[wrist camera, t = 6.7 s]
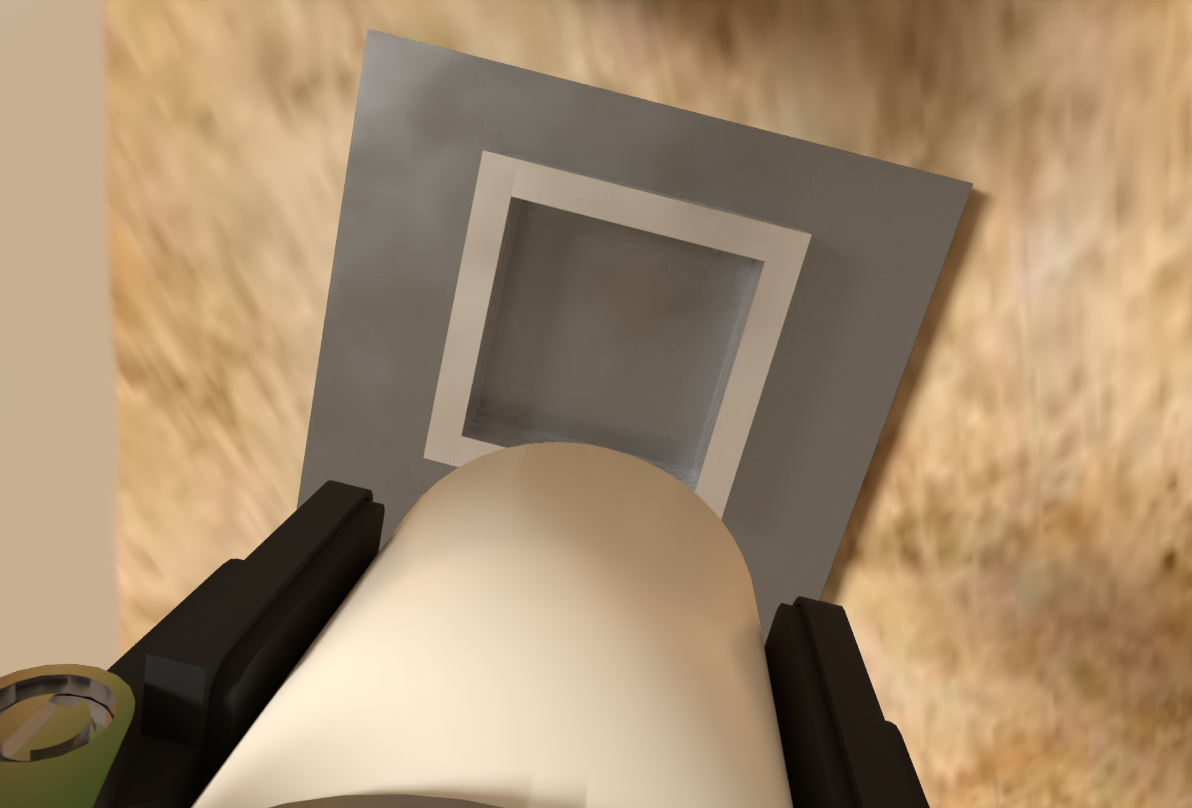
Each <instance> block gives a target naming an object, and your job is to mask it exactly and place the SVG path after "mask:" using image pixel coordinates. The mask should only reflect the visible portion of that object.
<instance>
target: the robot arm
mask: <svg viewBox="0 0 1192 808" xmlns="http://www.w3.org/2000/svg"><path fill="white" fill-rule="evenodd" d="M384 513H385V507H384V504H381V503H377V502H373V493H372V490H369V489H365V488H361V487H357V486H353V485H349V484H345V483H341V482H337V481H333V480H329V481H327V482H326V483H325V484H324V485H323V486H321V487H320V488H319V489H318V490H317V491H316V492H315V493H314V494H313V495H312V496H311V497H310V498H309V499H308V500H307V501H306V502H305V503H304V504H303V505H302V506H300V507H299V508H298V509H297V510H296V511H295V512H294V513H293V514H292V515H291V516H290V517H289V518H288V519H287V520H286V521H285V522H284V523H283V524H282V525H280V526H279V527H278V528H277V529H276V530H275V531H274V532H273V533H272V534H271V535H270V536H269V537H268V538H267V539H266V540H265V541H264V542H263V543H262V544H261V545H259V546H258V547H257V548H256V549H255V550H254V551H253V552H252V553H251V554H250V555H249V556H248V557H247V558H246V559H245V560H241V559H230V560H229V561H227V562H226V563H224V564H223V565H222V566H220V567H219V568H218V569H217V570H216V571H215V572H214V573H213V574H212V575H211V576H210V577H208V578H207V579H206V580H205V581H204V582H203V583H202V584H201V585H200V586H199V587H197V588H196V589H195V590H194V591H193V592H192V593H191V594H190V595H189V596H188V597H187V598H185V599H184V600H183V601H182V602H181V603H180V604H179V605H178V606H177V607H176V608H175V609H173V610H172V611H171V612H170V613H169V614H168V615H167V616H166V617H165V618H164V619H163V620H161V621H160V622H159V623H158V624H157V625H156V626H155V627H154V628H153V629H152V630H151V631H149V632H148V633H147V634H146V635H145V636H144V637H143V638H142V639H141V640H140V641H139V642H137V643H136V644H135V645H134V646H133V647H132V648H131V649H130V650H129V651H128V652H127V653H125V654H124V655H123V656H122V657H121V658H120V659H119V660H118V661H117V662H116V663H115V664H114V665H112V666H111V667H110V668H109V669H108V670H107V671H105V670H103V669H100V668H98V667H91V666H85V665H78V664H58V665H44V666H39V667H34V668H29V669H24V670H19V671H16V672H13V673H11V674H8V675H5V676H3V677H0V808H191V807H192V806H193V804H194V803H195V801H196V800H197V799H198V797H199V796H200V795H201V793H202V792H203V791H204V789H205V788H206V786H207V785H208V784H209V782H210V781H211V780H212V778H213V777H214V776H215V774H216V773H217V772H218V770H219V769H220V767H221V766H222V765H223V763H224V762H225V761H226V759H227V758H228V757H229V755H230V754H231V753H232V751H233V750H234V748H235V747H236V746H237V744H238V743H239V742H240V740H241V739H242V738H243V736H244V735H245V734H246V732H247V731H248V729H249V728H250V727H251V725H252V724H253V723H254V721H255V720H256V719H257V717H258V716H259V715H260V713H261V712H262V710H263V709H264V708H265V706H266V705H267V704H268V702H269V701H270V700H271V698H272V697H273V695H274V694H275V693H276V691H277V690H278V689H279V687H280V686H281V685H282V683H283V682H284V681H285V679H286V678H287V676H288V675H289V674H290V672H291V671H292V670H293V668H294V667H295V666H296V664H297V663H298V662H299V660H300V659H301V657H302V656H303V655H304V653H305V652H306V651H307V649H308V648H309V647H310V645H311V644H312V643H313V641H314V640H315V638H316V637H317V636H318V634H319V633H320V632H321V630H322V629H323V628H324V626H325V625H326V624H327V622H328V621H329V619H330V618H331V617H332V615H333V614H334V613H335V611H336V610H337V609H338V607H339V606H340V604H341V603H342V602H343V600H344V599H345V598H346V596H347V595H348V594H349V592H350V591H351V590H352V588H353V587H354V585H355V584H356V583H357V581H358V580H359V579H360V577H361V576H362V575H363V573H364V572H365V571H366V569H367V568H368V566H369V565H370V564H371V562H372V561H373V560H374V558H375V557H376V556H377V554H378V552H379V546H380V540H381V533H382V527H383V521H384ZM764 649H765V655H766V660H767V666H768V671H769V677H770V682H771V688H772V693H773V699H774V704H775V710H776V715H777V721H778V726H779V732H780V737H781V743H782V748H783V754H784V759H785V765H786V770H787V776H788V781H789V787H790V792H791V798H792V803H793V808H930V807H929V805H928V802H927V800H926V797H925V795H924V792H923V789H922V787H921V784H920V782H919V779H918V776H917V774H916V771H915V769H914V766H913V764H912V761H911V758H910V756H909V753H908V751H907V748H906V745H905V743H904V740H903V738H902V735H901V733H900V731H899V730H898V728H897V726H896V725H895V724H893V723H891V722H889V721H885V719H884V716H883V713H882V711H881V708H880V705H879V702H878V700H877V697H876V694H875V692H874V689H873V686H872V683H871V681H870V678H869V675H868V673H867V670H866V667H865V664H864V662H863V659H862V656H861V654H860V651H859V648H858V645H857V643H856V640H855V637H854V635H853V632H852V629H851V626H850V624H849V621H848V618H847V616H846V613H845V610H844V609H843V607H842V606H838V605H834V604H830V603H826V602H822V601H818V600H814V599H810V598H806V597H802V596H799V597H797V598H796V600H795V601H794V603H793V605H789V604H785V603H781V604H780V605H779V607H778V608H777V611H776V613H775V616H774V619H773V622H772V625H771V628H770V631H769V634H768V637H767V640H766V643H765V646H764Z"/></svg>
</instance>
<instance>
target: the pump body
mask: <svg viewBox="0 0 1192 808" xmlns="http://www.w3.org/2000/svg"><path fill="white" fill-rule="evenodd" d="M191 808H793V803H792V798H791V792H790V787H789V781H788V776H787V770H786V765H785V759H784V754H783V748H782V743H781V737H780V732H779V726H778V721H777V715H776V710H775V704H774V699H773V693H772V688H771V682H770V677H769V671H768V666H767V660H766V655H765V649H764V643H763V638H762V632H761V627H760V621H759V616H758V610H757V605H756V600H755V595H754V590H753V585H752V580H751V577H750V574H749V571H748V568H747V566H746V563H745V560H744V558H743V555H742V553H741V552H740V550H739V548H738V546H737V544H736V542H735V540H734V538H733V537H732V535H731V533H730V532H729V531H728V529H727V528H726V527H725V525H724V524H723V523H722V521H721V520H720V518H719V517H718V516H717V514H716V513H715V512H714V511H713V510H712V509H711V508H710V507H709V506H708V505H707V504H706V503H705V502H704V501H703V500H702V499H701V498H700V497H699V496H698V495H697V494H695V493H694V492H693V491H692V490H690V489H689V488H688V487H687V486H685V485H684V484H683V483H682V482H681V481H679V480H678V479H676V478H674V477H673V476H671V475H669V474H668V473H666V472H665V471H663V470H661V469H660V468H658V467H656V466H654V465H652V464H649V463H647V462H645V461H643V460H641V459H638V458H636V457H634V456H631V455H628V454H625V453H622V452H618V451H615V450H612V449H609V448H604V447H599V446H593V445H588V444H582V443H566V442H546V443H532V444H525V445H520V446H515V447H510V448H505V449H501V450H499V451H496V452H493V453H490V454H487V455H484V456H481V457H479V458H477V459H475V460H472V461H470V462H468V463H466V464H464V465H462V466H460V467H458V468H457V469H455V470H454V471H452V472H451V473H450V474H448V475H447V476H445V477H444V478H442V479H441V480H439V481H438V482H437V483H436V484H435V485H434V486H432V487H431V488H430V489H429V490H428V491H427V492H426V493H425V494H424V495H423V496H422V497H421V498H420V499H419V500H418V501H417V503H416V504H415V505H414V506H413V507H412V509H411V510H410V511H409V512H408V514H407V515H406V516H405V518H404V519H403V520H402V522H401V523H400V524H399V526H398V527H397V528H396V530H395V531H394V533H393V534H392V535H391V537H390V538H389V539H388V541H387V542H386V543H385V545H384V546H383V547H382V549H381V550H380V552H379V553H378V554H377V556H376V557H375V558H374V560H373V561H372V562H371V564H370V565H369V566H368V568H367V569H366V571H365V572H364V573H363V575H362V576H361V577H360V579H359V580H358V581H357V583H356V584H355V585H354V587H353V588H352V590H351V591H350V592H349V594H348V595H347V596H346V598H345V599H344V600H343V602H342V603H341V604H340V606H339V607H338V609H337V610H336V611H335V613H334V614H333V615H332V617H331V618H330V619H329V621H328V622H327V624H326V625H325V626H324V628H323V629H322V630H321V632H320V633H319V634H318V636H317V637H316V638H315V640H314V641H313V643H312V644H311V645H310V647H309V648H308V649H307V651H306V652H305V653H304V655H303V656H302V657H301V659H300V660H299V662H298V663H297V664H296V666H295V667H294V668H293V670H292V671H291V672H290V674H289V675H288V676H287V678H286V679H285V681H284V682H283V683H282V685H281V686H280V687H279V689H278V690H277V691H276V693H275V694H274V695H273V697H272V698H271V700H270V701H269V702H268V704H267V705H266V706H265V708H264V709H263V710H262V712H261V713H260V715H259V716H258V717H257V719H256V720H255V721H254V723H253V724H252V725H251V727H250V728H249V729H248V731H247V732H246V734H245V735H244V736H243V738H242V739H241V740H240V742H239V743H238V744H237V746H236V747H235V748H234V750H233V751H232V753H231V754H230V755H229V757H228V758H227V759H226V761H225V762H224V763H223V765H222V766H221V767H220V769H219V770H218V772H217V773H216V774H215V776H214V777H213V778H212V780H211V781H210V782H209V784H208V785H207V786H206V788H205V789H204V791H203V792H202V793H201V795H200V796H199V797H198V799H197V800H196V801H195V803H194V804H193V806H192V807H191Z"/></svg>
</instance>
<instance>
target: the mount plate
mask: <svg viewBox="0 0 1192 808" xmlns="http://www.w3.org/2000/svg"><path fill="white" fill-rule="evenodd" d="M972 186H973V184H972V183H969V182H965V181H961V180H957V179H953V178H949V177H945V176H941V175H937V174H933V173H929V172H926V171H922V170H918V169H914V168H910V167H906V166H902V165H898V164H894V163H890V162H886V161H883V160H879V159H875V158H871V157H867V156H863V155H859V154H855V153H851V152H847V151H843V150H839V149H836V148H832V147H828V146H824V145H820V144H816V143H812V142H808V141H804V140H800V139H796V138H793V137H789V136H785V135H781V134H777V133H773V132H769V131H765V130H761V129H757V128H753V127H750V126H746V125H742V124H738V123H734V122H730V121H726V120H722V119H718V118H714V117H710V116H707V115H703V114H699V113H695V112H691V111H687V110H683V109H679V108H675V107H671V106H667V105H664V104H660V103H656V102H652V101H648V100H644V99H640V98H636V97H632V96H628V95H624V94H621V93H617V92H613V91H609V90H605V89H601V88H597V87H593V86H589V85H585V84H581V83H577V82H574V81H570V80H566V79H562V78H558V77H554V76H550V75H546V74H542V73H538V72H534V71H531V70H527V69H523V68H519V67H515V66H511V65H507V64H503V63H499V62H495V61H491V60H488V59H484V58H480V57H476V56H472V55H468V54H464V53H460V52H456V51H452V50H448V49H445V48H441V47H437V46H433V45H429V44H425V43H421V42H417V41H413V40H409V39H405V38H402V37H398V36H394V35H390V34H386V33H382V32H378V31H374V30H370V29H368V30H367V37H366V44H365V50H364V57H363V64H362V71H361V77H360V84H359V91H358V98H357V105H356V111H355V118H354V125H353V132H352V138H351V145H350V152H349V159H348V166H347V172H346V179H345V186H344V193H343V199H342V206H341V213H340V220H339V227H338V233H337V240H336V247H335V254H334V260H333V267H332V274H331V281H330V288H329V294H328V301H327V308H326V315H325V321H324V328H323V335H322V342H321V349H320V355H319V362H318V369H317V376H316V382H315V389H314V396H313V403H312V410H311V416H310V423H309V430H308V437H307V443H306V450H305V457H304V464H303V470H302V477H301V484H300V491H299V498H298V504H297V509H298V508H299V507H300V506H302V505H303V504H304V503H305V502H306V501H307V500H308V499H309V498H310V497H311V496H312V495H313V494H314V493H315V492H316V491H317V490H318V489H319V488H320V487H321V486H323V485H324V484H325V483H326V482H327V481H329V480H333V481H337V482H341V483H345V484H349V485H353V486H357V487H361V488H365V489H369V490H372V493H373V502H377V503H381V504H384V507H385V513H384V521H383V527H382V533H381V540H380V546H379V552H380V550H381V549H382V547H383V546H384V545H385V543H386V542H387V541H388V539H389V538H390V537H391V535H392V534H393V533H394V531H395V530H396V528H397V527H398V526H399V524H400V523H401V522H402V520H403V519H404V518H405V516H406V515H407V514H408V512H409V511H410V510H411V509H412V507H413V506H414V505H415V504H416V503H417V501H418V500H419V499H420V498H421V497H422V496H423V495H424V494H425V493H426V492H427V491H428V490H429V489H430V488H431V487H432V486H434V485H435V484H436V483H437V482H438V481H439V480H441V479H442V478H444V477H445V476H447V475H448V474H450V473H451V472H452V471H454V470H455V469H457V468H458V467H460V466H462V465H464V464H466V463H468V462H470V461H472V460H475V459H477V458H479V457H481V456H484V455H487V454H490V453H493V452H496V451H499V450H501V449H505V448H510V447H515V446H520V445H525V444H532V443H546V442H566V443H582V444H588V445H593V446H599V447H604V448H609V449H612V450H615V451H618V452H622V453H625V454H628V455H631V456H634V457H636V458H638V459H641V460H643V461H645V462H647V463H649V464H652V465H654V466H656V467H658V468H660V469H661V470H663V471H665V472H666V473H668V474H669V475H671V476H673V477H674V478H676V479H678V480H679V481H681V482H682V483H683V484H684V485H685V486H687V487H688V488H689V489H690V490H692V491H693V492H694V493H695V494H697V495H698V496H699V497H700V498H701V499H702V500H703V501H704V502H705V503H706V504H707V505H708V506H709V507H710V508H711V509H712V510H713V511H714V512H715V513H716V514H717V516H718V517H719V518H720V520H721V521H722V523H723V524H724V525H725V527H726V528H727V529H728V531H729V532H730V533H731V535H732V537H733V538H734V540H735V542H736V544H737V546H738V548H739V550H740V552H741V553H742V555H743V558H744V560H745V563H746V566H747V568H748V571H749V574H750V577H751V580H752V585H753V590H754V595H755V600H756V605H757V610H758V616H759V621H760V627H761V632H762V638H763V643H764V646H765V643H766V640H767V637H768V634H769V631H770V628H771V625H772V622H773V619H774V616H775V613H776V611H777V608H778V607H779V605H780V604H781V603H785V604H789V605H793V603H794V601H795V600H796V598H797V597H799V596H802V597H806V598H810V599H814V600H818V601H819V600H820V597H821V595H822V592H823V589H824V586H825V584H826V581H827V578H828V576H829V573H830V570H831V567H832V565H833V562H834V559H835V557H836V554H837V551H838V548H839V546H840V543H841V540H842V538H843V535H844V532H845V530H846V527H847V524H848V521H849V519H850V516H851V513H852V511H853V508H854V505H855V502H856V500H857V497H858V494H859V492H860V489H861V486H862V483H863V481H864V478H865V475H866V473H867V470H868V467H869V465H870V462H871V459H872V456H873V454H874V451H875V448H876V446H877V443H878V440H879V437H880V435H881V432H882V429H883V427H884V424H885V421H886V418H887V416H888V413H889V410H890V408H891V405H892V402H893V400H894V397H895V394H896V391H897V389H898V386H899V383H900V381H901V378H902V375H903V372H904V370H905V367H906V364H907V362H908V359H909V356H910V353H911V351H912V348H913V345H914V343H915V340H916V337H917V335H918V332H919V329H920V326H921V324H922V321H923V318H924V316H925V313H926V310H927V307H928V305H929V302H930V299H931V297H932V294H933V291H934V288H935V286H936V283H937V280H938V278H939V275H940V272H941V270H942V267H943V264H944V261H945V259H946V256H947V253H948V251H949V248H950V245H951V242H952V240H953V237H954V234H955V232H956V229H957V226H958V223H959V221H960V218H961V215H962V213H963V210H964V207H965V205H966V202H967V199H968V196H969V194H970V191H971V188H972ZM379 552H378V553H379Z"/></svg>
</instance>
